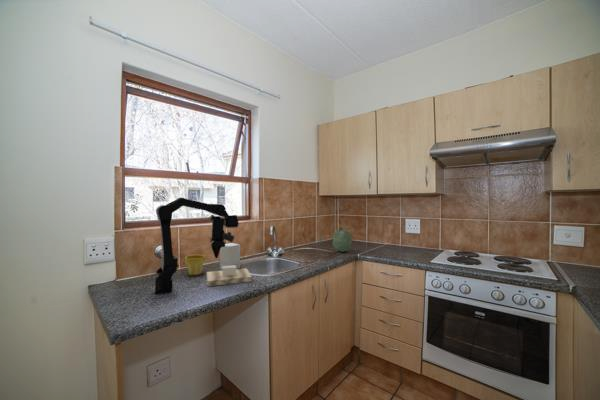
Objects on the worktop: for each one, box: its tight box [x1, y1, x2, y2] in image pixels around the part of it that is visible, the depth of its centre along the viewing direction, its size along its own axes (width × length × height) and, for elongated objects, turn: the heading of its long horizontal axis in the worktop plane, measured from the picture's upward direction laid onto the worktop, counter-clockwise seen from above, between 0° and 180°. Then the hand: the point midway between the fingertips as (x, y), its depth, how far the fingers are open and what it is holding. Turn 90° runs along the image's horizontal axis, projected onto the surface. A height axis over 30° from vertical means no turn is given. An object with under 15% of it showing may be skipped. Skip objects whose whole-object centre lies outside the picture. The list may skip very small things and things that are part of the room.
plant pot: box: [184, 254, 206, 276], centre depth 139 cm, size 10×10×10 cm
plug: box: [221, 265, 236, 276], centre depth 130 cm, size 7×5×6 cm, turn 113°
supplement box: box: [219, 242, 241, 270], centre depth 150 cm, size 9×9×15 cm
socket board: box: [206, 267, 253, 287], centre depth 130 cm, size 22×16×2 cm
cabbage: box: [332, 228, 353, 253], centre depth 205 cm, size 16×19×20 cm
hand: (216, 257), depth 126 cm, fingers closed
